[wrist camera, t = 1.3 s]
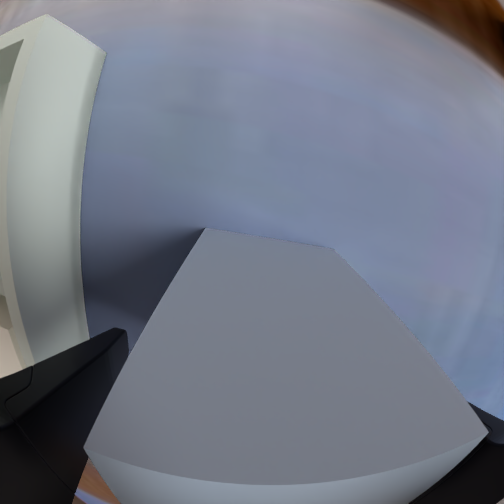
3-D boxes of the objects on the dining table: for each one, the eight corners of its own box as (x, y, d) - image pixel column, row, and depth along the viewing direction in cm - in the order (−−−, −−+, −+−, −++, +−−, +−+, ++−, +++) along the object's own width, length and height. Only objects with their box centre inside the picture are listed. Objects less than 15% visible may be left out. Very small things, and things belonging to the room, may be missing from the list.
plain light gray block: (303, 351, 13) (350, 536, 4) (194, 337, 13) (147, 534, 3) (333, 249, 12) (488, 432, 2) (205, 227, 11) (83, 447, 2)
